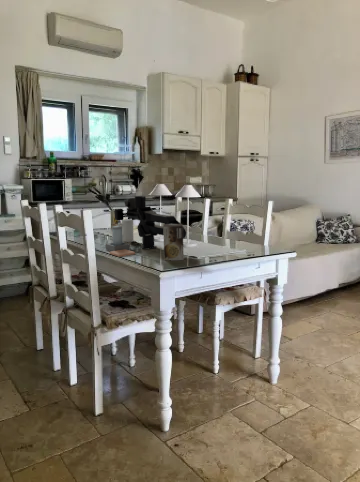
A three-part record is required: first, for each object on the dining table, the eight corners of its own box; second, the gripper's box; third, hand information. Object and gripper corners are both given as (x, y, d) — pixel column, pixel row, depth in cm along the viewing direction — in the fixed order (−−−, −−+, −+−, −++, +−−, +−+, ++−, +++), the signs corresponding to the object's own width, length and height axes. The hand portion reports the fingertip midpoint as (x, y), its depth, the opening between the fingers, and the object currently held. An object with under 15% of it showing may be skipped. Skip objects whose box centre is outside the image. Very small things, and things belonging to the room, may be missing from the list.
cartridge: (124, 249, 212) (123, 226, 209) (116, 251, 208) (115, 227, 206) (119, 248, 215) (118, 225, 213) (111, 249, 212) (110, 226, 210)
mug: (130, 239, 240) (130, 219, 237) (135, 241, 234) (135, 220, 232) (114, 241, 234) (114, 220, 232) (119, 243, 229) (118, 221, 226)
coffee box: (183, 257, 194) (182, 223, 191) (183, 260, 188) (183, 225, 185) (163, 257, 194) (163, 223, 191) (163, 260, 188) (163, 225, 184)
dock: (140, 253, 204) (140, 247, 203) (119, 256, 196) (118, 250, 195) (120, 247, 218) (120, 241, 218) (99, 250, 210) (99, 244, 210)
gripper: (151, 198, 225) (135, 196, 237) (121, 200, 214) (107, 198, 226) (151, 218, 227) (136, 215, 239) (122, 221, 216) (107, 218, 228)
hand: (122, 212), depth 233 cm, fingers open, 9 cm apart
